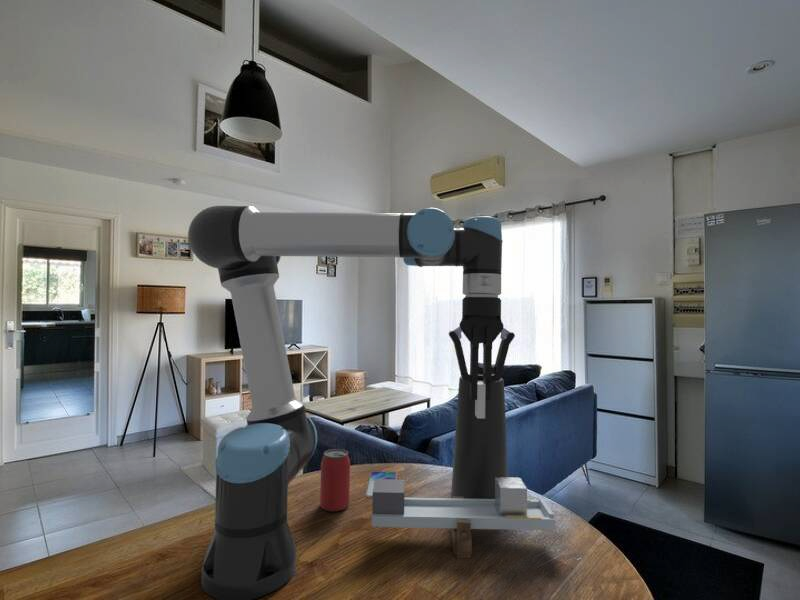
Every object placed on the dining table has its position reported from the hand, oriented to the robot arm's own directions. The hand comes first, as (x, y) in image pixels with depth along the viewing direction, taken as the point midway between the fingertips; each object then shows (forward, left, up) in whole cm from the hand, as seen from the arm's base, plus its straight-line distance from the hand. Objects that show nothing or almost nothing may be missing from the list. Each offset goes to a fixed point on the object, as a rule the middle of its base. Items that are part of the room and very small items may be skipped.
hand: (479, 416), depth 81 cm
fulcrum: (-4, 0, -24) cm, 25 cm away
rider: (+6, 0, -19) cm, 20 cm away
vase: (+3, +19, -25) cm, 31 cm away
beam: (-4, 0, -20) cm, 20 cm away
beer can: (-31, +13, -25) cm, 41 cm away
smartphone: (-21, +25, -25) cm, 41 cm away
